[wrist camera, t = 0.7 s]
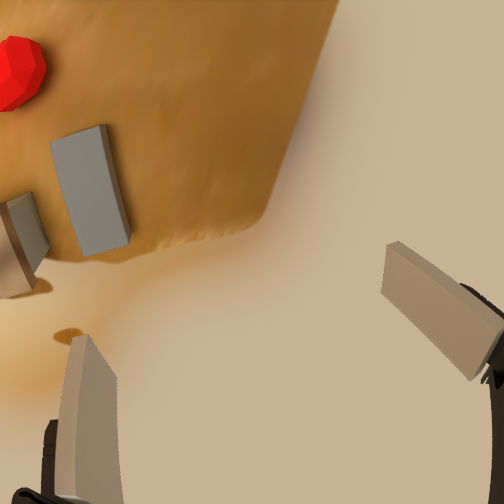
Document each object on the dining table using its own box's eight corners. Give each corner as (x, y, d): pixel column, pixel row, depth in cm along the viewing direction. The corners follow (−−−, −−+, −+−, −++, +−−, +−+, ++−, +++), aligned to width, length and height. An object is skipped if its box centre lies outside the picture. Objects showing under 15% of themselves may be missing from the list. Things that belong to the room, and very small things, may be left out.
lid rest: (60, 139, 28) (49, 142, 24) (105, 124, 29) (99, 125, 25) (90, 242, 34) (83, 257, 31) (131, 231, 36) (129, 244, 32)
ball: (42, 34, 20) (17, 20, 14) (57, 85, 24) (33, 79, 18) (-7, 70, 19) (-38, 66, 13) (7, 119, 23) (-23, 124, 17)
